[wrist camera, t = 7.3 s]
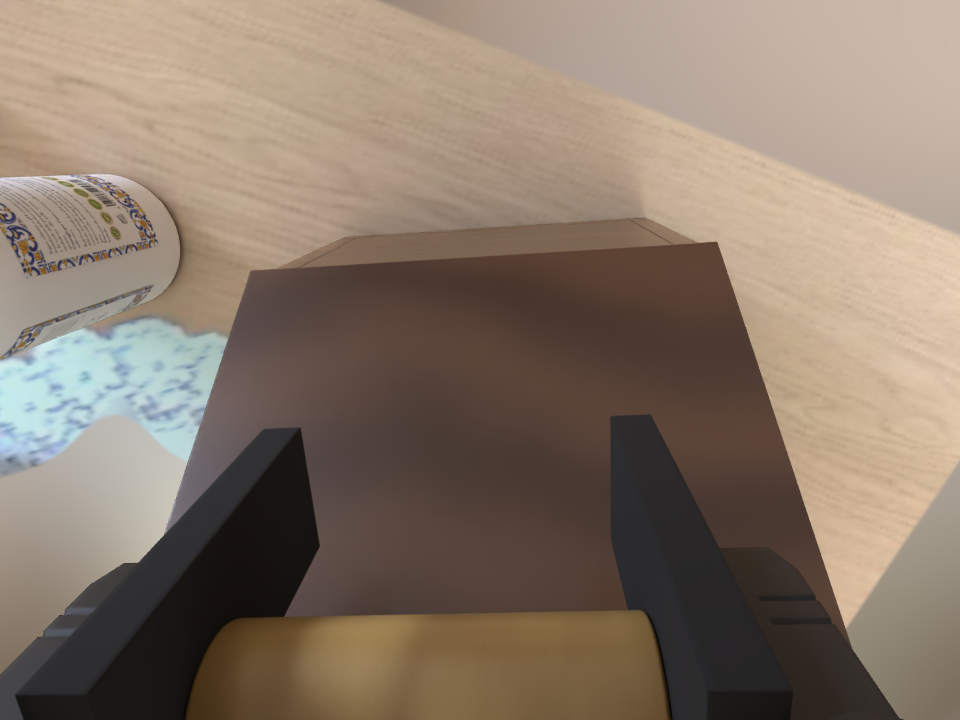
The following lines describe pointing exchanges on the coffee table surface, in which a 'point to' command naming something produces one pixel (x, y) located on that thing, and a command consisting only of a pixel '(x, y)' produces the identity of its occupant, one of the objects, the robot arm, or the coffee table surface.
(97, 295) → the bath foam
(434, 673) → the chest lid
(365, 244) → the chest
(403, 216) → the coffee table surface
